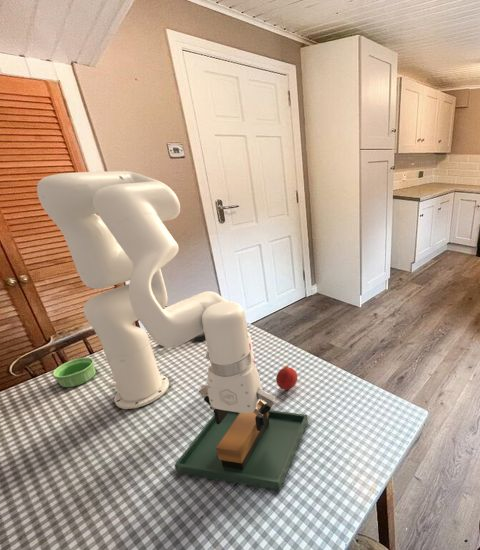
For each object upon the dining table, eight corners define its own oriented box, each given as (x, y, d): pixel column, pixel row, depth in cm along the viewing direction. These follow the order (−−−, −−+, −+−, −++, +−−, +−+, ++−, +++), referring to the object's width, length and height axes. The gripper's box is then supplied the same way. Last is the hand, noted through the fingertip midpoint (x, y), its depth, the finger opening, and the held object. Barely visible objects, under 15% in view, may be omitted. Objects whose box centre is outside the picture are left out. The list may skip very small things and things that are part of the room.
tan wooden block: (243, 471, 64) (239, 451, 62) (220, 468, 65) (215, 447, 62) (270, 421, 76) (267, 403, 74) (251, 419, 77) (248, 400, 74)
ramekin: (49, 387, 88) (43, 375, 86) (81, 367, 96) (76, 355, 94) (75, 391, 86) (70, 378, 85) (105, 370, 95) (101, 358, 93)
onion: (293, 397, 85) (290, 374, 82) (274, 394, 86) (270, 371, 83) (301, 383, 90) (299, 361, 87) (283, 380, 91) (280, 358, 88)
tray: (176, 473, 64) (174, 465, 63) (223, 410, 80) (222, 403, 79) (279, 490, 61) (278, 482, 60) (307, 421, 77) (307, 414, 76)
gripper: (180, 367, 60) (195, 430, 66) (262, 378, 57) (270, 443, 64) (204, 345, 66) (216, 404, 73) (279, 354, 64) (284, 414, 71)
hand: (241, 422), depth 68 cm, fingers open, 9 cm apart
